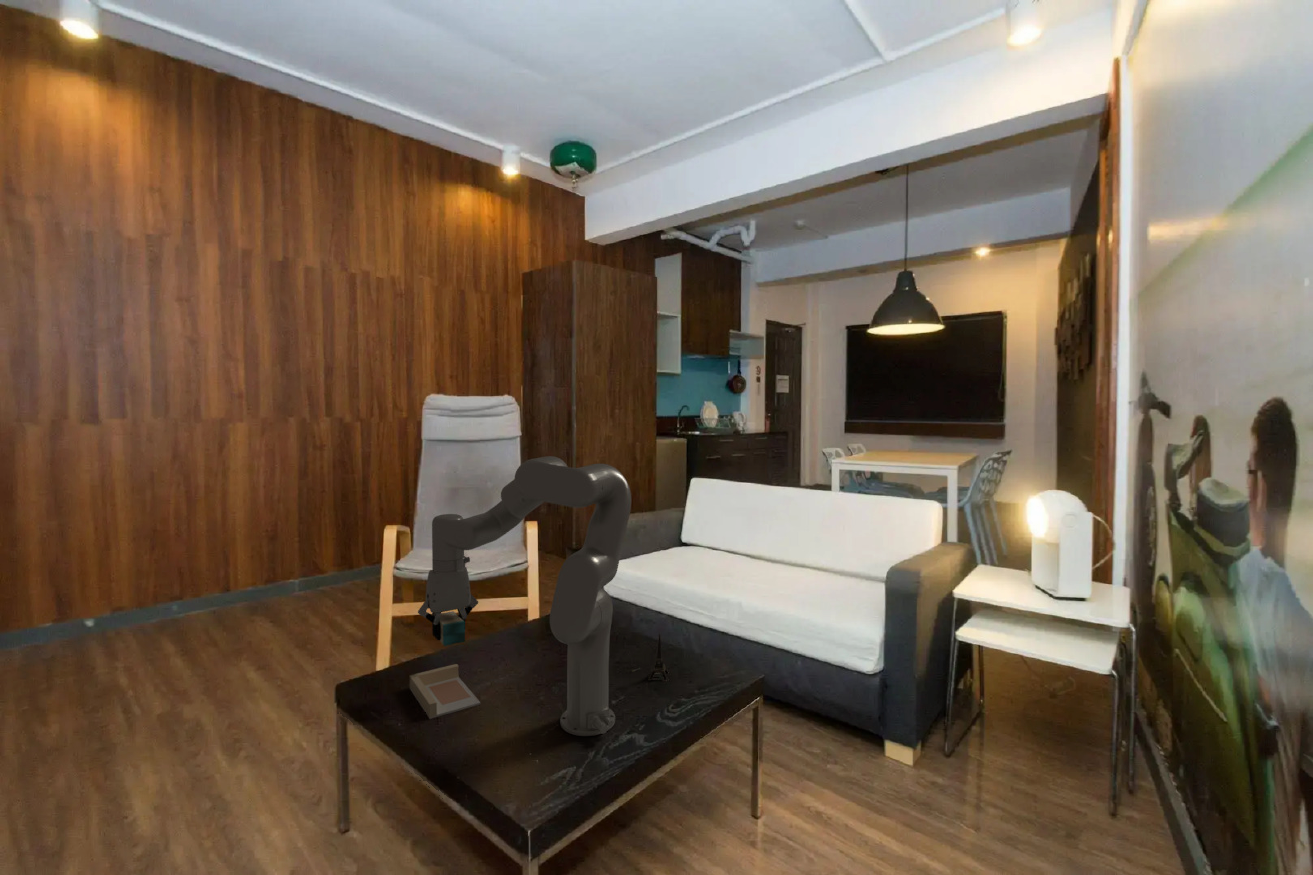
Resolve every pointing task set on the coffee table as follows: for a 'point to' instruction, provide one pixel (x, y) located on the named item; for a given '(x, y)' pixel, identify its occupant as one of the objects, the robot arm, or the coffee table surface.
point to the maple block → (451, 628)
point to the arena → (441, 691)
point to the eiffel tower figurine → (658, 667)
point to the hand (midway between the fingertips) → (449, 635)
